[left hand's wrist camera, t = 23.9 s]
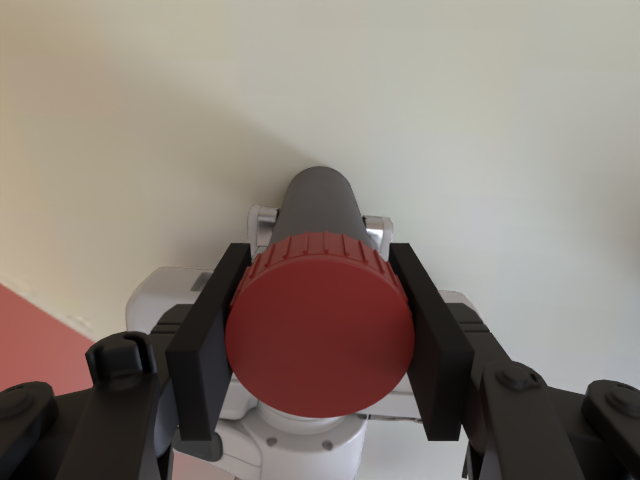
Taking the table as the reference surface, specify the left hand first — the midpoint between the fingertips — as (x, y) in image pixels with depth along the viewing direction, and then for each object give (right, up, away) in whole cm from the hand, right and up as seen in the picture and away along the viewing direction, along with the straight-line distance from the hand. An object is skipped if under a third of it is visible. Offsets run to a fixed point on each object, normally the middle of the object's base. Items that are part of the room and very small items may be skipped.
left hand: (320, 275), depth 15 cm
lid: (0, -1, -4) cm, 4 cm away
